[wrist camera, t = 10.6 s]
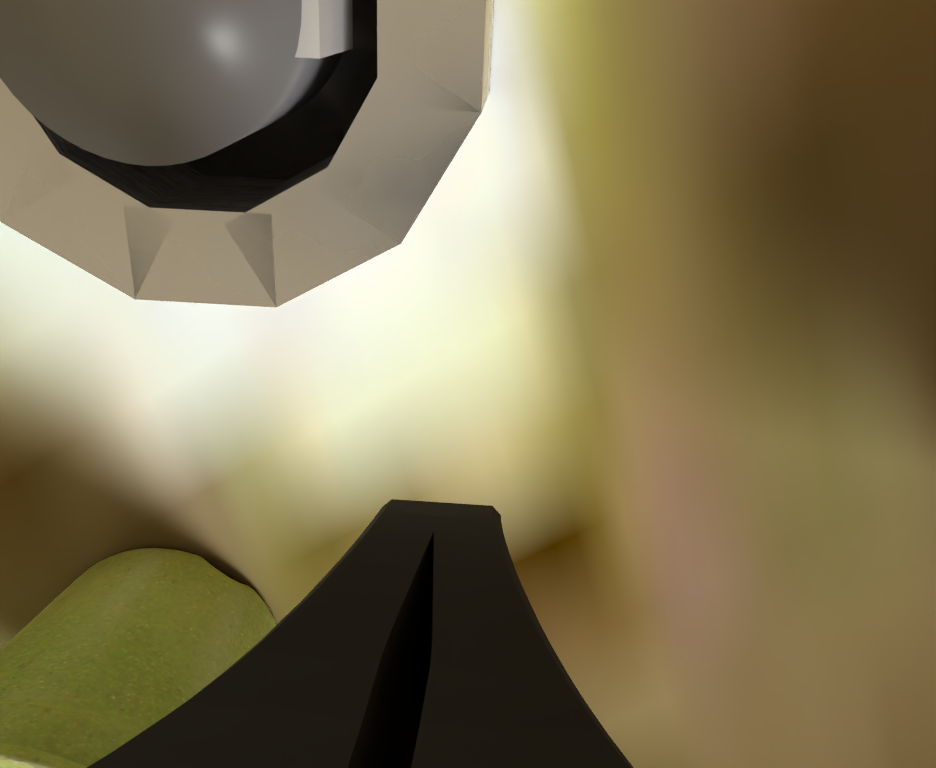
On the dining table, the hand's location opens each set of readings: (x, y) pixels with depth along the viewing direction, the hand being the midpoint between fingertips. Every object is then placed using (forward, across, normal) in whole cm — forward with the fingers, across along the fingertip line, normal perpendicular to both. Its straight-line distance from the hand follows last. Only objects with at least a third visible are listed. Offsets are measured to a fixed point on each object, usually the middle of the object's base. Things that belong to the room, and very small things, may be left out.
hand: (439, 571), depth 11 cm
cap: (+9, +5, -6) cm, 12 cm away
